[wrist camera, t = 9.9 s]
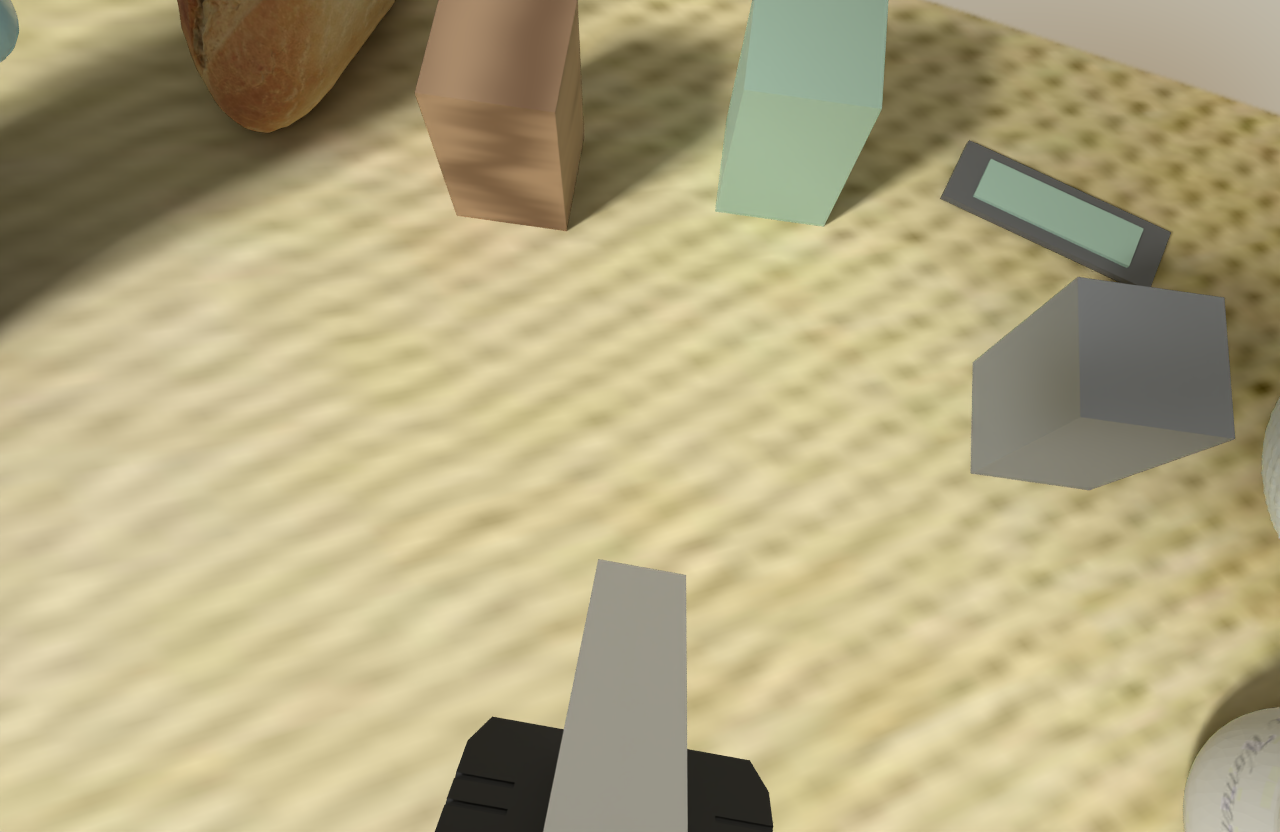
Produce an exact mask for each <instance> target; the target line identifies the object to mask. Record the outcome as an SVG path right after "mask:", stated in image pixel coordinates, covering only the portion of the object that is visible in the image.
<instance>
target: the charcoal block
mask: <svg viewBox="0 0 1280 832" xmlns="http://www.w3.org/2000/svg"><path fill="white" fill-rule="evenodd" d="M1234 439H1235V430H1234V417H1233V404H1232V391H1231V378H1230V365H1229V352H1228V339H1227V326H1226V312H1225V299H1224V297H1217V296H1210V295H1202V294H1195V293H1188V292H1181V291H1174V290H1167V289H1160V288H1153V287H1145V286H1138V285H1131V284H1124V283H1117V282H1110V281H1103V280H1096V279H1088V278H1081V277H1077V278H1076V279H1075V280H1073V281H1072V282H1071V283H1070V284H1068V285H1067V286H1066V287H1065V288H1064V289H1062V290H1061V291H1060V292H1059V293H1057V294H1056V295H1055V296H1054V297H1053V298H1051V299H1050V300H1049V301H1048V302H1046V303H1045V304H1044V305H1043V306H1041V307H1040V308H1039V309H1038V310H1037V311H1035V312H1034V313H1033V314H1032V315H1030V316H1029V317H1028V318H1027V319H1026V320H1024V321H1023V322H1022V323H1021V324H1019V325H1018V326H1017V327H1016V328H1014V329H1013V330H1012V331H1011V332H1010V333H1008V334H1007V335H1006V336H1005V337H1003V338H1002V339H1001V340H1000V341H999V342H997V343H996V344H995V345H994V346H992V347H991V348H990V349H989V350H987V351H986V352H985V353H984V354H983V355H981V356H980V357H979V358H978V359H976V360H975V361H974V362H973V381H972V432H971V473H972V474H979V475H986V476H993V477H1000V478H1007V479H1014V480H1021V481H1028V482H1035V483H1042V484H1049V485H1056V486H1064V487H1071V488H1078V489H1085V490H1091V489H1094V488H1097V487H1100V486H1102V485H1105V484H1108V483H1111V482H1114V481H1117V480H1120V479H1122V478H1125V477H1128V476H1131V475H1134V474H1137V473H1139V472H1142V471H1145V470H1148V469H1151V468H1154V467H1157V466H1159V465H1162V464H1165V463H1168V462H1171V461H1174V460H1177V459H1179V458H1182V457H1185V456H1188V455H1191V454H1194V453H1196V452H1199V451H1202V450H1205V449H1208V448H1211V447H1214V446H1216V445H1219V444H1222V443H1225V442H1228V441H1231V440H1234Z"/></svg>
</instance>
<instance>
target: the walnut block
mask: <svg viewBox="0 0 1280 832" xmlns="http://www.w3.org/2000/svg"><path fill="white" fill-rule="evenodd" d="M415 95H416V98H417V101H418V104H419V107H420V110H421V113H422V116H423V118H424V121H425V124H426V127H427V130H428V133H429V136H430V139H431V142H432V145H433V148H434V151H435V153H436V156H437V159H438V162H439V165H440V168H441V171H442V174H443V177H444V180H445V183H446V185H447V188H448V191H449V194H450V197H451V200H452V203H453V206H454V209H455V212H456V215H457V216H464V217H471V218H478V219H485V220H492V221H499V222H506V223H513V224H520V225H527V226H535V227H542V228H549V229H556V230H563V231H567V227H568V221H569V216H570V211H571V205H572V200H573V194H574V189H575V183H576V178H577V173H578V167H579V162H580V156H581V151H582V145H583V140H584V124H583V103H582V83H581V62H580V41H579V20H578V0H439V1H438V4H437V8H436V12H435V16H434V20H433V24H432V28H431V31H430V35H429V39H428V43H427V47H426V51H425V55H424V59H423V62H422V66H421V70H420V74H419V78H418V82H417V86H416V90H415Z"/></svg>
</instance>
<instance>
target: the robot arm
mask: <svg viewBox="0 0 1280 832" xmlns="http://www.w3.org/2000/svg"><path fill="white" fill-rule="evenodd" d="M18 34H19V24H18V18H17V14H16V11H15V9H14V6H13V4H12V2H11V0H0V62H2V61H3V60H5V59H6V57H7V56H8V55H9V54H10V53H11V52H12V51H13V49H14V47H15V44H16V41H17V37H18ZM435 832H773V821H772V814H771V806H770V798H769V792H768V790H767V788H766V787H765V785H764V783H763V782H762V780H761V778H760V777H759V775H758V773H757V772H756V770H755V768H754V767H753V765H752V763H751V762H750V760H745V759H739V758H733V757H728V756H722V755H717V754H711V753H706V752H700V751H695V750H689V749H687V660H686V575H683V574H677V573H672V572H666V571H661V570H655V569H650V568H644V567H639V566H633V565H628V564H622V563H617V562H611V561H606V560H600V559H598V564H597V569H596V574H595V579H594V583H593V588H592V593H591V598H590V603H589V608H588V613H587V618H586V623H585V628H584V633H583V638H582V643H581V648H580V653H579V657H578V662H577V667H576V672H575V677H574V682H573V687H572V692H571V697H570V702H569V707H568V712H567V717H566V722H565V727H564V729H558V728H552V727H547V726H541V725H536V724H530V723H525V722H519V721H514V720H508V719H502V718H497V717H492V718H491V719H489V720H488V721H487V722H486V723H485V724H484V725H483V726H482V727H481V728H480V729H479V730H478V731H477V732H476V733H475V734H474V735H473V736H472V737H471V738H470V739H469V740H468V741H467V744H466V747H465V749H464V752H463V755H462V758H461V760H460V763H459V766H458V769H457V772H456V776H455V778H454V780H453V783H452V786H451V788H450V791H449V794H448V797H447V801H446V804H445V805H444V808H443V811H442V813H441V816H440V819H439V822H438V824H437V827H436V830H435Z"/></svg>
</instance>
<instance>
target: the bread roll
mask: <svg viewBox="0 0 1280 832" xmlns="http://www.w3.org/2000/svg"><path fill="white" fill-rule="evenodd" d="M395 1H396V0H177V2H178V6H179V13H180V20H181V26H182V30H183V33H184V35H185V38H186V41H187V44H188V47H189V50H190V53H191V56H192V58H193V61H194V63H195V66H196V69H197V71H198V72H199V74H200V76H201V77H202V79H203V81H204V82H205V84H206V86H207V88H208V90H209V92H210V93H211V95H212V97H213V98H214V100H215V101H216V103H217V104H218V106H219V107H220V108H221V109H222V110H223V111H224V112H225V113H226V114H227V115H228V116H229V117H230V118H232V119H233V120H234V121H235V122H237V123H238V124H240V125H241V126H243V127H245V128H246V129H249V130H253V131H257V132H265V133H270V132H273V131H275V130H277V129H280V128H283V127H288V126H289V125H291V124H292V123H294V122H295V121H297V120H298V119H300V118H302V117H303V116H305V115H306V114H307V113H309V112H310V111H311V110H312V109H313V108H314V107H315V106H316V105H317V104H318V103H319V102H320V100H321V99H322V98H323V97H324V96H325V95H326V94H327V93H328V92H329V91H330V90H331V89H332V87H333V86H334V84H335V83H336V81H337V80H338V78H339V77H340V75H341V74H342V73H343V71H344V70H345V68H346V67H347V66H348V64H349V63H350V61H351V60H352V59H353V58H354V56H355V55H356V54H357V53H358V51H359V50H360V48H361V47H362V45H363V44H364V43H365V41H366V40H367V39H368V37H369V36H370V35H371V33H372V32H373V30H374V29H375V27H376V26H377V25H378V23H379V22H380V21H381V19H382V18H383V17H384V15H385V14H386V13H387V12H388V10H389V9H390V8H391V7H392V5H393V4H394V2H395Z"/></svg>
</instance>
